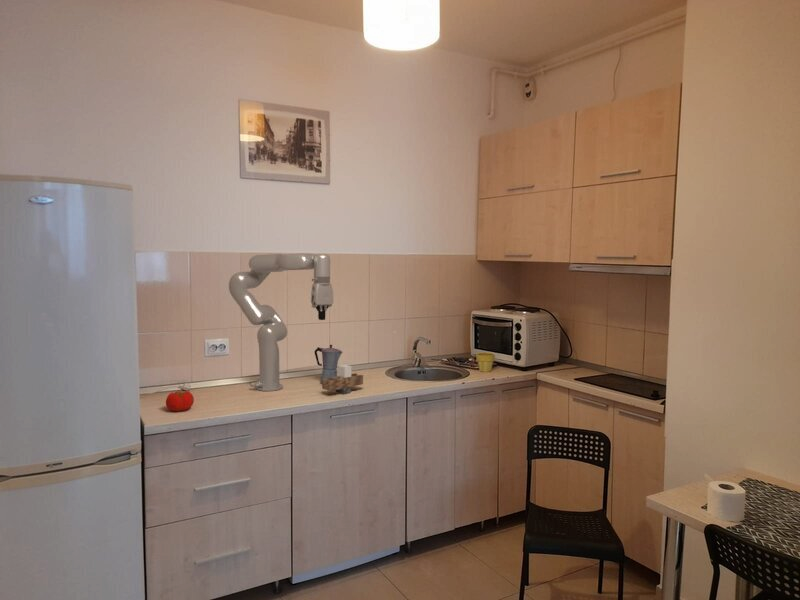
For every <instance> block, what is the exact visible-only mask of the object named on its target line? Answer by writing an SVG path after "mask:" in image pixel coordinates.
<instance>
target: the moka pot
mask: <svg viewBox="0 0 800 600" xmlns="http://www.w3.org/2000/svg"><path fill="white" fill-rule="evenodd" d="M318 352H321V357H322V358H321V360H322V363H320V361H319V355H318ZM342 354H343V351H342V350H341V349H339V348H335V347H333V344H329V347H327V348H324V347H319V346H318V347H316V349H314V356H315V359H316V363H317V366H321V367H322V372H321V377H320V384H322V379H326V378H332V377H338V363H339V359H340V358H341V356H342Z"/></svg>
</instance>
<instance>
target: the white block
mask: <svg viewBox="0 0 800 600" xmlns="http://www.w3.org/2000/svg"><path fill="white" fill-rule="evenodd" d="M351 374H352V365H349V364H348V365H347V364H341V365H337V377H338V376H340V379H341V378H347V377H351Z"/></svg>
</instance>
